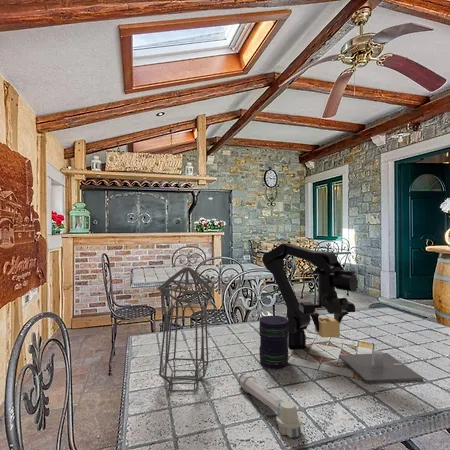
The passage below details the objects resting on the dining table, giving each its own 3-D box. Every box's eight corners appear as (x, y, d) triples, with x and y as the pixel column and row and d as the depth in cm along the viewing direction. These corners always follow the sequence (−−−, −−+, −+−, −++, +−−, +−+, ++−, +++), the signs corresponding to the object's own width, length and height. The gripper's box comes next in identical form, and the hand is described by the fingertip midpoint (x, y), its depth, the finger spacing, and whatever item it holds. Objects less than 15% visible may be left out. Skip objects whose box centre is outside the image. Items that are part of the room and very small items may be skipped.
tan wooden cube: (339, 336, 108) (339, 321, 108) (321, 337, 107) (321, 321, 107) (331, 330, 114) (331, 315, 114) (315, 331, 113) (314, 316, 113)
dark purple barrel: (256, 367, 103) (255, 322, 103) (262, 355, 112) (262, 314, 112) (286, 371, 100) (285, 325, 100) (290, 359, 109) (290, 316, 109)
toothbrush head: (251, 371, 93) (304, 402, 70) (253, 394, 92) (307, 434, 69) (235, 374, 90) (285, 408, 68) (237, 398, 90) (288, 441, 67)
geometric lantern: (164, 371, 100) (167, 263, 101) (212, 373, 100) (215, 264, 100) (151, 397, 85) (154, 269, 85) (208, 400, 84) (211, 271, 85)
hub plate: (365, 383, 92) (365, 365, 92) (338, 357, 110) (338, 342, 110) (423, 380, 93) (423, 362, 93) (387, 355, 111) (387, 340, 111)
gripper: (309, 292, 102) (309, 340, 102) (363, 291, 103) (363, 338, 103) (298, 286, 113) (298, 329, 113) (347, 285, 114) (348, 327, 114)
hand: (327, 331), depth 111 cm, fingers closed on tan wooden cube, 6 cm apart
